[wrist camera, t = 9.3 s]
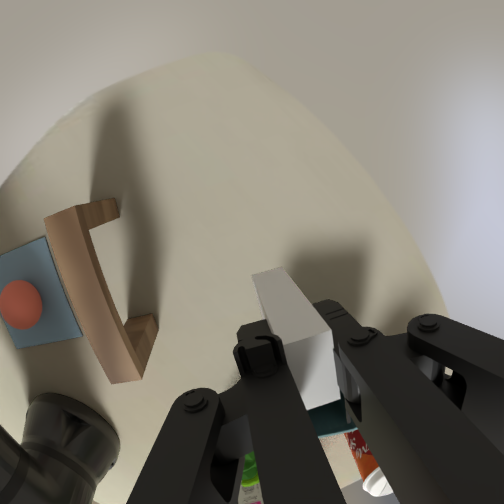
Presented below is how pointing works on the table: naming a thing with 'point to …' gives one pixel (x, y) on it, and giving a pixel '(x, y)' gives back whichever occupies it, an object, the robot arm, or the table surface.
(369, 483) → the paper cup
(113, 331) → the bridge
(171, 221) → the table surface
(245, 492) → the candy bar box
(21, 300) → the ball
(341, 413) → the flower pot
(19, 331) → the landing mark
